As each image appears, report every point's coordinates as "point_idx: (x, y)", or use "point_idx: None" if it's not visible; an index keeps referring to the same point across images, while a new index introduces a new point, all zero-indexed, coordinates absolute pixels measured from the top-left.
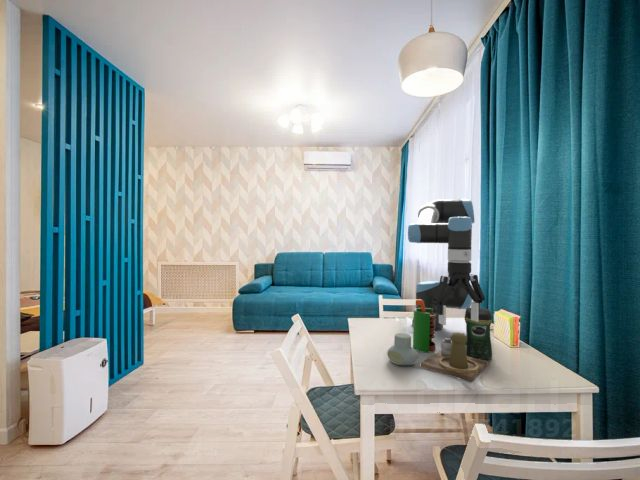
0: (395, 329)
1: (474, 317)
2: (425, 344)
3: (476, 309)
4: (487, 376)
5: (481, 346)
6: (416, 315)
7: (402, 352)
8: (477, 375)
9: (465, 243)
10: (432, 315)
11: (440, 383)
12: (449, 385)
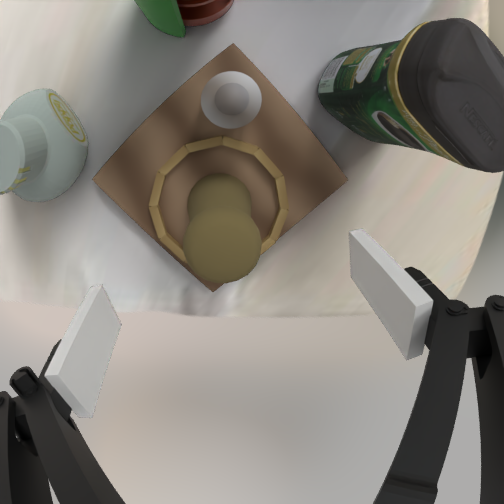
0: None
1: (359, 272)
2: (165, 26)
3: (385, 323)
4: (284, 253)
5: (374, 135)
6: None
7: (19, 193)
8: None
9: None
10: None
11: (123, 288)
12: (143, 299)
